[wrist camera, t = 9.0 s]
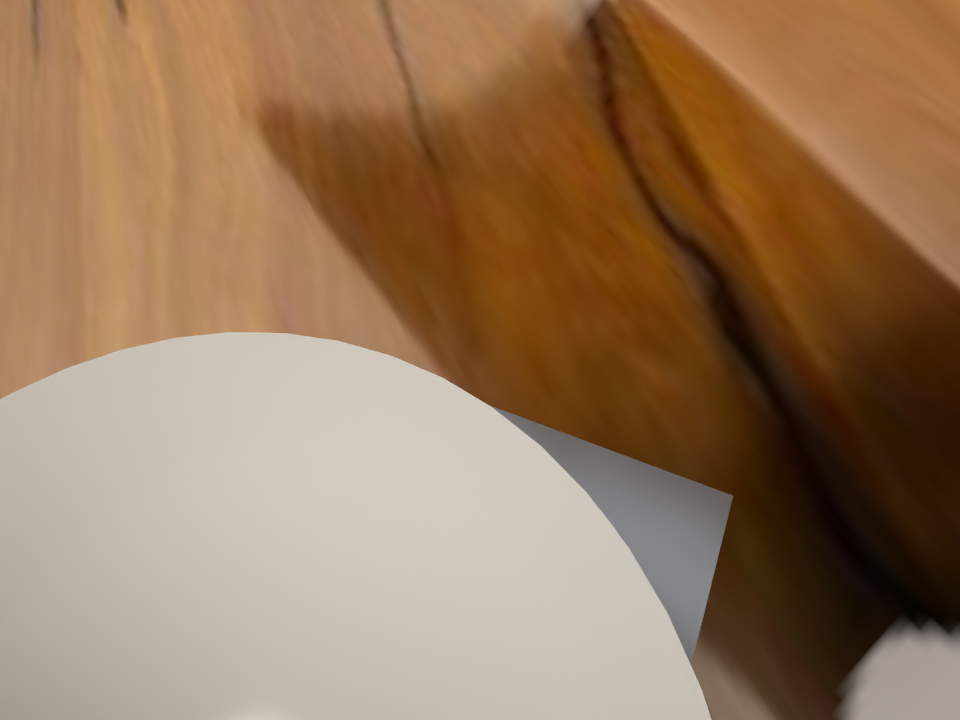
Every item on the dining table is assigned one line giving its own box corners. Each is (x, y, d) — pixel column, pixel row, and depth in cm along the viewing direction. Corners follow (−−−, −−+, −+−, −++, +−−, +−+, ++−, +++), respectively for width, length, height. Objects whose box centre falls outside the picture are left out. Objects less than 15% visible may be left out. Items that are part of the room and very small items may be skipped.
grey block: (600, 923, 17) (614, 977, 15) (231, 724, 19) (193, 743, 17) (709, 506, 21) (732, 495, 19) (394, 386, 24) (380, 364, 21)
